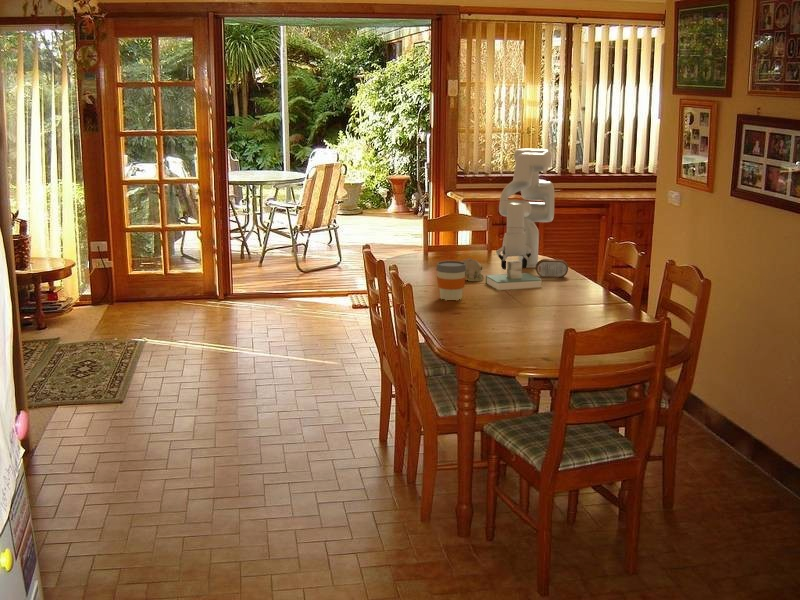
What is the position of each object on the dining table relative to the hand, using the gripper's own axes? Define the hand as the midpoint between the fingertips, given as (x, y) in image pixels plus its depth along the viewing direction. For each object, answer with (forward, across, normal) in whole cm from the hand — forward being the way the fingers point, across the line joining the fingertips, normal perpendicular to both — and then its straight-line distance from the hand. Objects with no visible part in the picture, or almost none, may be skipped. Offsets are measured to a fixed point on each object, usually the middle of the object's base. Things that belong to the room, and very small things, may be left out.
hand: (514, 268), depth 417 cm
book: (+8, 0, 0) cm, 8 cm away
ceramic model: (+8, +14, -19) cm, 25 cm away
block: (+4, 0, 0) cm, 4 cm away
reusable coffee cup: (+8, +35, +16) cm, 39 cm away
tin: (+8, -24, -12) cm, 28 cm away
